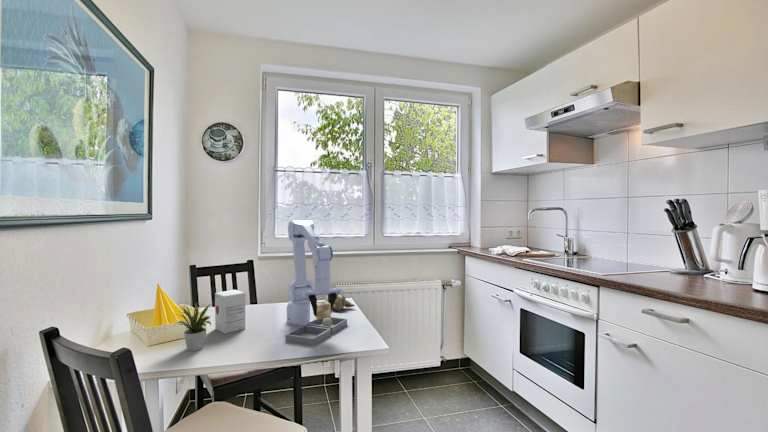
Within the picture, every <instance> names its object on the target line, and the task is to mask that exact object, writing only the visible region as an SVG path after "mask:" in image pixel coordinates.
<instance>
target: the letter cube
mask: <svg viewBox="0 0 768 432" xmlns="http://www.w3.org/2000/svg"><path fill="white" fill-rule="evenodd" d="M316 309H317V316H314V317H315V319H322V318H331V317H332V313H331V304H330V303H329V302H328V301H325V300H324V301H317V305H316Z"/></svg>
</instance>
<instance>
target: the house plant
mask: <svg viewBox="0 0 768 432" xmlns="http://www.w3.org/2000/svg"><path fill="white" fill-rule="evenodd" d="M197 304H198V301H197V302H196V303H195V306H194V308H193V315H191V311H190V309H189V308H188V306H185V305H184V306H183V307H182V306H181V309H182V310H183V311H180V310H179V314H180V313H181V314H180V317H183V319H184V320H185V321H182V320H180V321H179V320H178V321H177V322H176V324H179V326H182V325H184V326H185V328H186V329H185V330H184V331H183V334H184V335H183V336H184V340H185V345H186V350H187V351H188V350H189V351H188V352H194V351H195V352H196V351H199V350H202V349H204V347H205V341H206V334H207V327H206V326H207V325H206V323H207V324H208V325H210V326H212V322H211V321H208V320H209V319H211V315H209V316H204V315H205V314H206V313H207V312H208V311H209V307H210V306H211V305H212V303H210V304H208V305H206V306H205V307H204V309H203V310H202V311H200V312H199V310H200V308H199V307H198V305H197ZM203 306H204V303H203V304H202V305H201V307H203ZM184 307H185V308H184ZM175 310H177V311H178V308H175ZM199 313H200V314H199ZM186 316H187V317H186ZM203 326H204V327H203Z"/></svg>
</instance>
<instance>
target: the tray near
mask: <svg viewBox="0 0 768 432" xmlns="http://www.w3.org/2000/svg"><path fill="white" fill-rule="evenodd" d="M331 335H332V334H331V329H329V328H322V327H314V326H307V325H306V324H305V325H303V324H302V325H301V326H299V327H298V328H296V329H293V330H292V331H290V332H289V333H286V334H285V335H284V336H285V338H284V339H285V341H284V342H288V343H293V344H300V345H306V346H312V347H314V346H316V345H317V344H319V343H320V342H322V341H324V340H325V339H326V338H328V337H330V336H331Z"/></svg>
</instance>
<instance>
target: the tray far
mask: <svg viewBox="0 0 768 432" xmlns="http://www.w3.org/2000/svg"><path fill="white" fill-rule="evenodd" d="M323 319H324V318H322V319H317V318H315V319H313V321H311V322H309V323H307V324H305V325H307V326H314V327H322V328H329V329H331V335H333V334H335V333H336V332H338V331H340V330H341V329H344V328H345V327H346V326H347V325H348V319H347V318H343V317H342V318H341V317H334V316H331V318H330V319H331V320H332V325H331V326H330V327H329V326H323V324H322V321H323Z"/></svg>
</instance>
